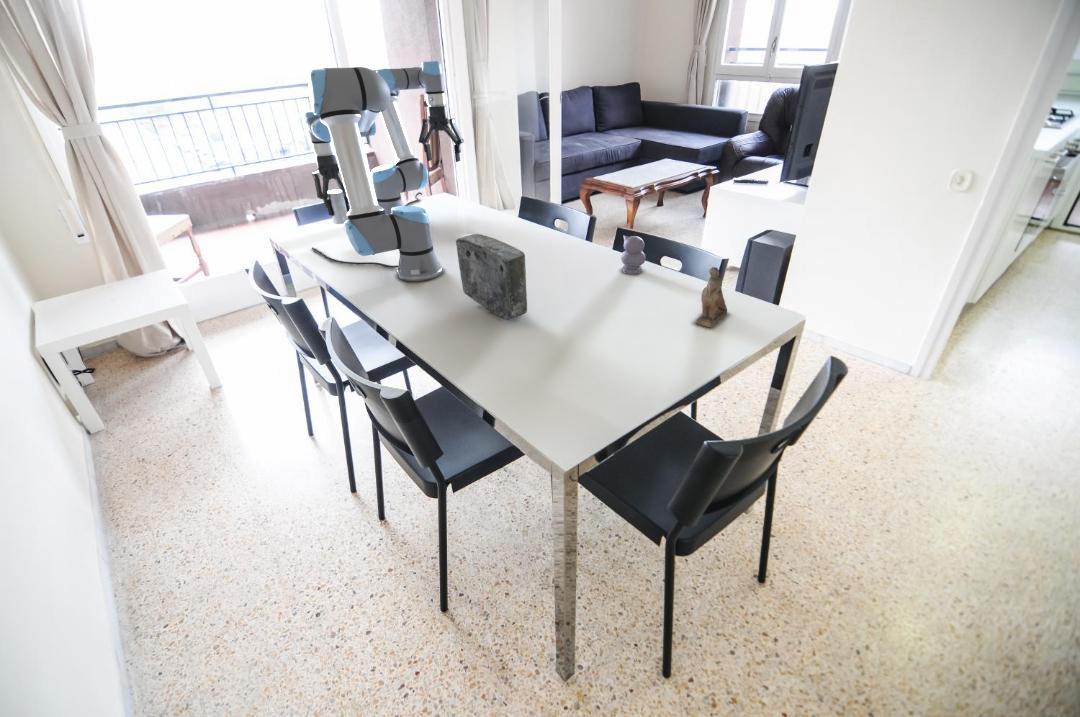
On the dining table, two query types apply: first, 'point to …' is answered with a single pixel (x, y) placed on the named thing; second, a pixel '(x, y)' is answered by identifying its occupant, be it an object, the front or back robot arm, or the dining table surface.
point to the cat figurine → (633, 254)
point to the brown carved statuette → (712, 301)
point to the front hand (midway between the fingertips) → (339, 213)
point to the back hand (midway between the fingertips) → (443, 161)
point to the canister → (338, 206)
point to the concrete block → (493, 274)
